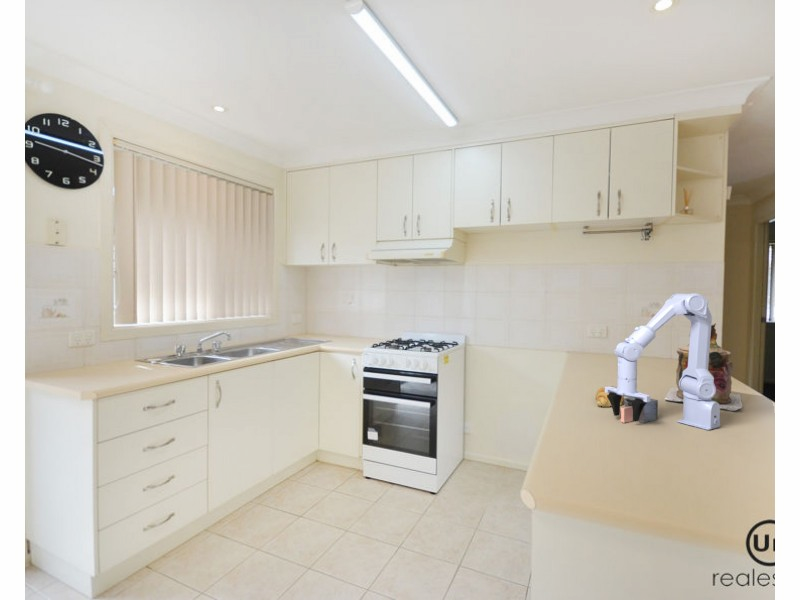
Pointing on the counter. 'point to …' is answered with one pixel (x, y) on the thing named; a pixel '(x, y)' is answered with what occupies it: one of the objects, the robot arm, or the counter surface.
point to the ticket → (626, 414)
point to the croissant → (604, 398)
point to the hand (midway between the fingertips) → (626, 418)
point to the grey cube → (646, 410)
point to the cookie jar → (718, 370)
